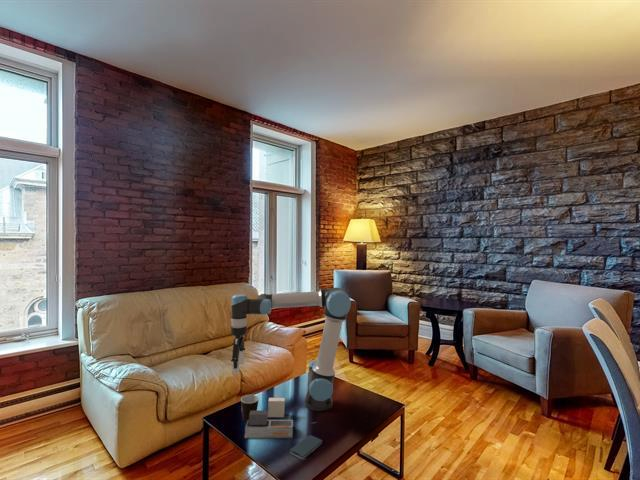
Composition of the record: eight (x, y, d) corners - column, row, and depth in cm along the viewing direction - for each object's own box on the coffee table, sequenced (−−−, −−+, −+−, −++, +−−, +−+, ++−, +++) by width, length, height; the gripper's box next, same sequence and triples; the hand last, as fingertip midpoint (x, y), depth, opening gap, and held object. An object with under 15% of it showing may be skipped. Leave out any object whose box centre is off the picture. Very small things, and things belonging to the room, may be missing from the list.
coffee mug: (253, 425, 153) (254, 404, 153) (237, 422, 155) (237, 402, 155) (263, 412, 165) (263, 393, 165) (247, 410, 167) (247, 391, 167)
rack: (292, 426, 154) (293, 407, 154) (292, 438, 145) (293, 417, 145) (247, 426, 152) (248, 407, 152) (244, 438, 143) (245, 418, 143)
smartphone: (323, 440, 142) (302, 457, 130) (323, 444, 142) (302, 461, 130) (309, 434, 147) (288, 449, 134) (309, 437, 147) (288, 454, 134)
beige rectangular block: (284, 413, 165) (284, 397, 165) (284, 417, 161) (284, 401, 162) (268, 413, 164) (269, 397, 165) (267, 417, 161) (268, 401, 161)
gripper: (236, 319, 173) (235, 359, 172) (225, 333, 148) (224, 379, 148) (250, 319, 173) (249, 359, 173) (242, 333, 148) (241, 379, 148)
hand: (238, 369), depth 160 cm, fingers open, 13 cm apart
